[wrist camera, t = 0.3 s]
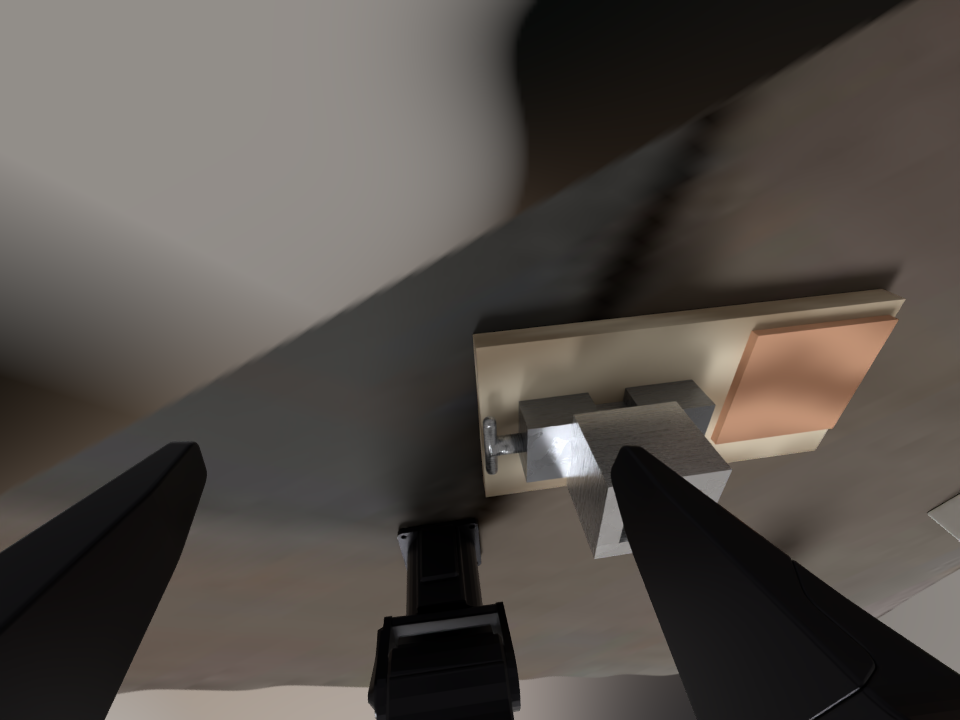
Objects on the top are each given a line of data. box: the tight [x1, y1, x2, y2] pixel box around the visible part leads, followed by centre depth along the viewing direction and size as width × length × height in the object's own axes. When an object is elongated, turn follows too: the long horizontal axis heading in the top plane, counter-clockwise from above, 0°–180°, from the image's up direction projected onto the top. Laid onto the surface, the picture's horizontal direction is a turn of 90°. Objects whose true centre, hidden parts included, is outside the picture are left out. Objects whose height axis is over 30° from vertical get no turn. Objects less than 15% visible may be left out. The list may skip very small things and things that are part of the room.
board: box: [473, 289, 905, 497], centre depth 27 cm, size 13×26×2 cm, turn 93°
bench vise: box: [483, 379, 716, 483], centre depth 24 cm, size 5×14×7 cm, turn 93°
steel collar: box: [566, 401, 732, 559], centre depth 23 cm, size 6×6×5 cm
